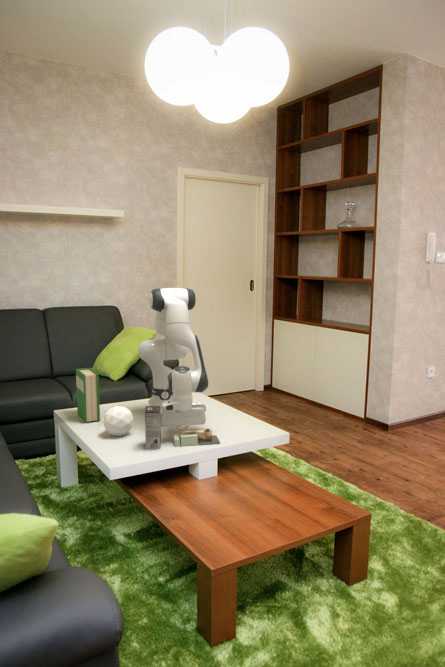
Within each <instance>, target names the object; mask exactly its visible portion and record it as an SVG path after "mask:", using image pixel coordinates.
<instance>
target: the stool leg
mask: <svg viewBox="0 0 445 667" xmlns="http://www.w3.org/2000/svg"><path fill="white" fill-rule="evenodd" d="M192 434H197V436H198V439H206V440H210V439H212V435H213V431H212V430H211V429H210V428H205V429H198V430H197V429H187V430H184V429H180V434H179V439H180V440H181V435H192Z"/></svg>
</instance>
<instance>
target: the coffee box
mask: <svg viewBox="0 0 445 667" xmlns="http://www.w3.org/2000/svg"><path fill="white" fill-rule="evenodd" d="M144 424H145V425H144V426H145V428H144V429H145V430H144V431H145V450H158V449H161V448H162V447H161V446H162V427H161V408H160V406H149V405H145V410H144Z"/></svg>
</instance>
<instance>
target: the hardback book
mask: <svg viewBox="0 0 445 667" xmlns="http://www.w3.org/2000/svg"><path fill="white" fill-rule="evenodd" d="M75 381H76V382H75V383H76V384H75V385H76V386H75V387H76V411H77V412H76V413H77V414H78V415H77V416H78V417H79V419H80V418H81V419H82V420H83V421H82V420H81V419H80V420H81V421H82V422H83V424H85V423H86V424H87V423H88V422H94V421H97V422H98V423H100V422H101V412H100V411H101V408H100V404H101V402H100V375H99V372H97V371H96V370H94V369H93V368H92V367H83V368H75ZM99 421H100V422H99Z"/></svg>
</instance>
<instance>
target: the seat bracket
mask: <svg viewBox="0 0 445 667" xmlns="http://www.w3.org/2000/svg"><path fill="white" fill-rule="evenodd" d="M172 437H173V445H174V447H175V448H176V447H189V446H198V445H199V444H198V436H197V434H192V435H181V439H180V435H178V434H173V436H172Z"/></svg>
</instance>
